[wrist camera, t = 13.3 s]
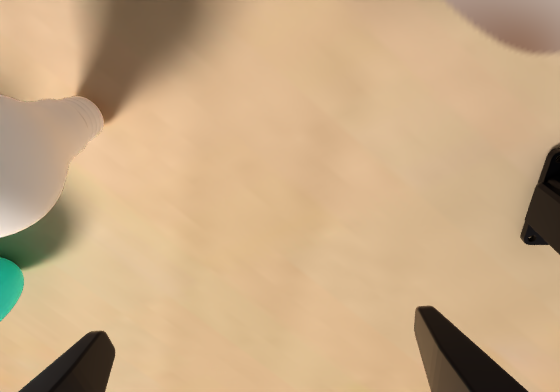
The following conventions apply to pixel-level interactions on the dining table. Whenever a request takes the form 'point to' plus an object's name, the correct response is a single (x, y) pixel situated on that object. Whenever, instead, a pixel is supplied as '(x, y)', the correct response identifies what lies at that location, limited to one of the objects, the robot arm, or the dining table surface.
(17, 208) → the lightbulb
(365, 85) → the dining table surface
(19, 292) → the cyan rounded piece
